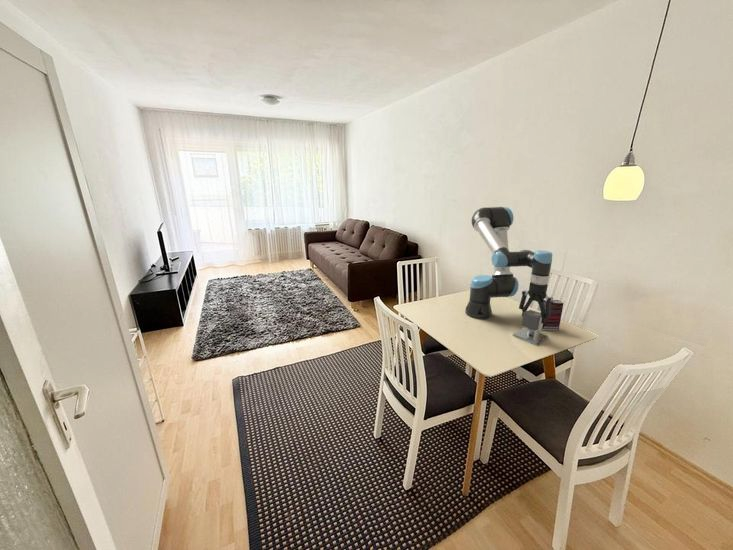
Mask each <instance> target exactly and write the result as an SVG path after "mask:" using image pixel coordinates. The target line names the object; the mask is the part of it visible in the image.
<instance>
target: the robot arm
mask: <svg viewBox="0 0 733 550" xmlns="http://www.w3.org/2000/svg"><path fill="white" fill-rule="evenodd" d="M513 222H514V213H513V211H512V209H510V208H509V207H507V206H506V207H505V206H499V207H498V206H492V207H491V206H490V207H481V208H479V209H477V210H475V212H474V213H473V215H472V217H471V225H472V227H473V229H474V231H475V232H477V233H479V235H480V237H481V239H482V240H483V241H484V243H485V245H486V247H487V248H488V249H489V251H490V252H491V254H492V255H491V263H492V265H493V273H492V274H491V275H488V274H481V275H479V274H478V275H475V276H473V277H472V279H471V280H470V281H471V282H470V289H469V300H468V303H467V305H466V306H465V315H467V316H469V317H471V318H474V319H481V320H483V319H484V320H485V319H489V318H491V317H492V316H493V311H492V310H493V309H492V306H491V298H492V299H493V298H509V297H514V296H515V295H516V294H517V292H518V290H519V286H520V285H519V281H518V278H516V277H515V276H514V273H513V272H512V271H511V267H512V268H513V267H529V268H531V273H530V274H531V275H530V280H529V281H530V282H529V288H528V290H523V291H522V292H521V299H520V303H519V306H518V309H519V310H521V311H522V312H521V317H522V318H523V313H524V312H527V311H528V308H529V307H530V305H531V304H532V302H537V304H538V306H539V309H540V311H539V312H540V313H541V315H542V316H541V317H540V320H539V326H538V330H542V329H541V328H542V326H543V324H544V323H545V321H546V318H548V317H550V316H551V302H552V300H554V298H553V297H552V296H548V295H547V292H548V284H549V282H550V281H549V279H550V273H551V268H552V262H553V253H552V252H551V251H548V250H541V249H540V250H535V251H532V250H529V249H522V250H520V251H519V250H518V251H510V250H509V240H508V231H509V230H510V228H511V226H512V225H513V224H514V223H513ZM528 296H529V298H528V299H527V297H528ZM526 300H527V301H526ZM544 300H546V301H547V302H546V310H545V306H544Z"/></svg>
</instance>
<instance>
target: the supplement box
mask: <svg viewBox="0 0 733 550" xmlns="http://www.w3.org/2000/svg"><path fill="white" fill-rule="evenodd" d="M546 302H547V301H546V299H544V306H545V310H546ZM563 308H564V302H563V301H561V300H560V299H553V300H552V302H551V316H550V317H548V318H546V321H545V323H544V324H543V327H542V328H541V329H540V330H542V331H559V330H560V326H561V321H562V314H563Z"/></svg>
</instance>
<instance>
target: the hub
mask: <svg viewBox="0 0 733 550" xmlns="http://www.w3.org/2000/svg"><path fill="white" fill-rule="evenodd" d="M512 337H515V338H517V339H518V340H522V341H524V342H527V343H529V344H531V345H534V346H538V345H540V344H541V343H543V342H544V341H546V340H547V339H549V335H546V334H544V333H541V332H538V331H537V330H536V331H535V330H532V329H529V328H526V327H524V326H523V327H522V328H520V329H519V330H517V331H515V332H513V333H512Z"/></svg>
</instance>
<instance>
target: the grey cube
mask: <svg viewBox="0 0 733 550" xmlns="http://www.w3.org/2000/svg"><path fill="white" fill-rule="evenodd" d="M526 311H527V312H524V313H523V317H522V319H521V326H522V327H523V328H524V327H525V328H529V329H532V330H535V331H536V332H537V331H538V330H539V329H538V326H539V320H540V317H541V316H542V315H541V312H540V311H536V310H532V309H529V310H526ZM542 327H543V326H542Z"/></svg>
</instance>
